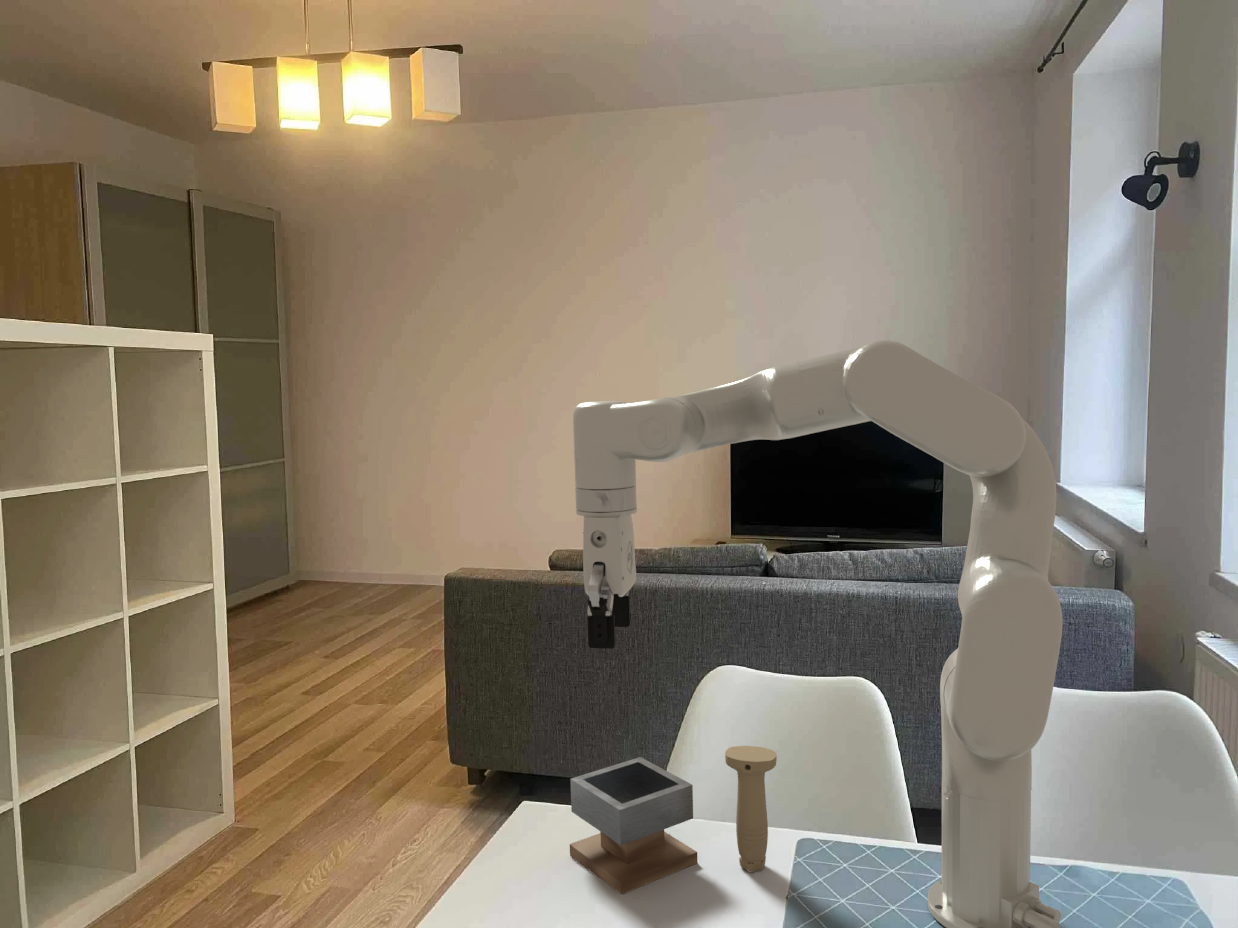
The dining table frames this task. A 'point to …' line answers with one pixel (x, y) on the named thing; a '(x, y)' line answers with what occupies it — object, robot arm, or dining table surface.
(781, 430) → the robot arm
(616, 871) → the stand
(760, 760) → the handle
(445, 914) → the dining table surface
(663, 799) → the grey open box
